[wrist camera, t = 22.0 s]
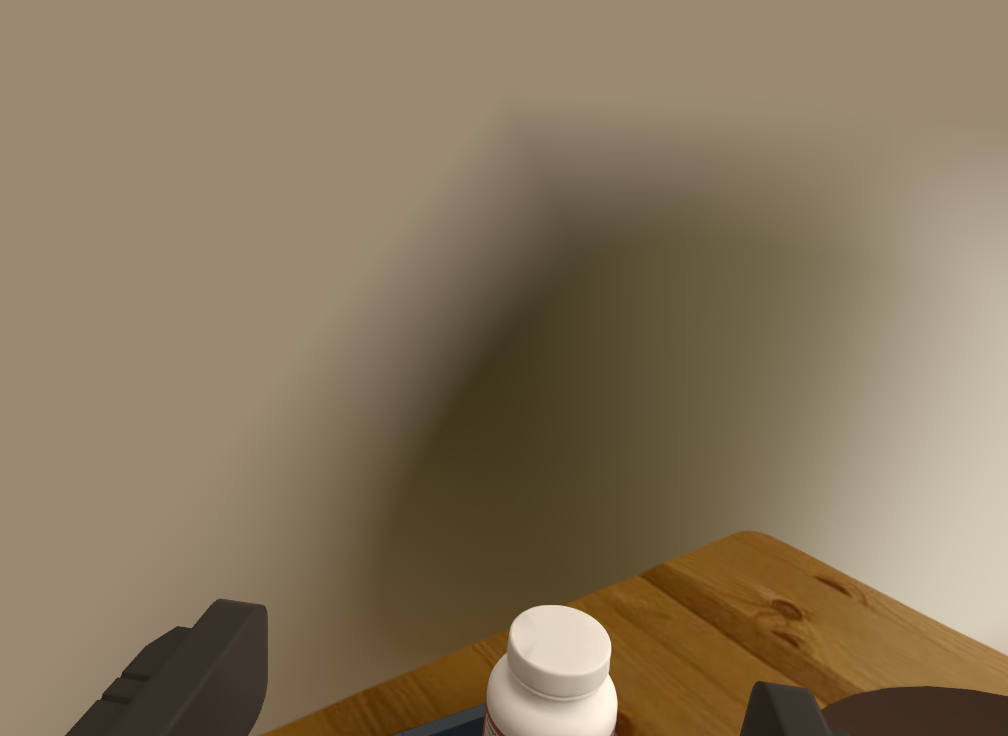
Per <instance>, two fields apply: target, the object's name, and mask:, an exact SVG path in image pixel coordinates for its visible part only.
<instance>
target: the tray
mask: <svg viewBox="0 0 1008 736" xmlns="http://www.w3.org/2000/svg"><path fill="white" fill-rule="evenodd" d="M485 705H486V703H485V704H482V705H480V706H477V707H474V708H471V709H468V710H465V711H462V712H459V713H456V714H453V715H450V716H447V717H445V718H442V719H439V720H436V721H433V722H430V723H427V724H424V725H421V726H418V727H415V728H413V729H410V730H407V731H404V732H402V733H398V734H395V735H392V736H482V735H483V725H484V715H485ZM613 736H617V734H616V733H615V732H614V735H613Z"/></svg>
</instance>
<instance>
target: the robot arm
mask: <svg viewBox="0 0 1008 736" xmlns="http://www.w3.org/2000/svg"><path fill="white" fill-rule="evenodd" d="M267 617H268V616H267V610H266V607H265V606H264V605H260V604H253V603H246V602H240V601H233V600H227V599H218V600H216V601H215V602H214V603H213V604H212V605H211V606H210V607H209V608H208V609H207V611H206V612H205V613H204V614H203V615H202V617H201V618H200V619H199V620H198V622H197V623H196V624H195V625H194V627H192V628H186V627H179V626H177V627H175V628H174V629H172V630H171V631H169V632H167V633H166V634H164V635H163V636H161V637H159V638H158V639H156V640H155V641H153V642H152V643H150V644H148V645H147V646H145V647H144V648H143V650H142V651H141V652H140V653H139V654H138V655H137V657H135V659H134V660H133V661H132V662H131V663H130V664H129V665H128V666H127V667H126V669H125V670H124V671H123V672H122V675H121V677H120V678H117V679H116V680H115V681H114V682H113V683H112V684H111V685H110V686H109V687H108V689H107V690H106V691H105V692H104V693H103V694H102V698H101V700H97V701H96V702H95V703H94V704H93V705H92V706H91V707H90V709H89V710H88V711H87V712H86V713H85V714H84V715H83V717H81V719H80V720H79V721H78V722H77V723H76V724H75V725H74V727H72V729H71V730H70V731H69V732H68V733H67V734H66V735H65V736H248V734H249V733H250V731H251V729H252V728H253V726H254V724H255V722H256V720H257V718H258V716H259V713H260V711H261V708H262V705H263V702H264V698H265V694H266V689H267V680H268V636H267V635H268V621H267V620H268V619H267ZM740 736H850V735H849V734H848V733H847V732H846V731H845V730H839V729H832V728H829V727H828V725H827V723H826V721H825V719H824V716H823V714H822V712H821V710H820V708H819V706H818V704H817V702H816V700H815V698H814V696H813V694H812V693H811V692H810V691H809V690H808V689H806V688H801V687H795V686H788V685H781V684H775V683H768V682H761V681H758V682H756V683H755V685H754V686H753V689H752V692H751V695H750V699H749V703H748V707H747V711H746V714H745V718H744V722H743V726H742V729H741V733H740Z"/></svg>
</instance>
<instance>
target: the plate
mask: <svg viewBox="0 0 1008 736" xmlns="http://www.w3.org/2000/svg"><path fill="white" fill-rule="evenodd" d="M821 712H822V714H823V716H824V719H825V721H826V723H827V725H828V727H829V728H832V729H839V730H845V731H846V732H847V733H848V734H849V735H850V736H1008V696H1003V695H997V694H992V693H987V692H981V691H976V690H968V689H955V688H943V687H931V686H924V687H899V688H886V689H881V690H876V691H871V692H866V693H861V694H856V695H853V696H851V697H849V698H846V699H844V700H841V701H839V702H836V703H834V704H831V705H829V706H828V707H826V708H825V709H824V710H822V711H821Z"/></svg>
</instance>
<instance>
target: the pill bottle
mask: <svg viewBox="0 0 1008 736" xmlns="http://www.w3.org/2000/svg"><path fill="white" fill-rule="evenodd" d="M610 655H611V642H610V639H609V636H608V634H607V632H606V630H605V629H604V628H603V627H602V625H601V624H600V623H599V622H598V621H596V620H595V619H594V618H592V617H591V616H589V615H587V614H586V613H584V612H581V611H579V610H576V609H573V608H570V607H565V606H557V605H545V606H538V607H534V608H531V609H528V610H527V611H524V612H523V613H521V614H520V615H519V616H518V617H517V618H516V619H515V620H514V622H513V623H512V625H511V628H510V633H509V639H508V647H507V653H506V654H505V655H504V656H503V657H502V658H501V659H500V660H499V661H498V663H497V664H496V665H495V667H494V669H493V670H492V673H491V675H490V678H489V682H488V688H487V695H486V705H485V715H484V725H483V735H482V736H613V735H614V730H615V724H616V715H617V695H616V691H615V688H614V685H613V682H612V680H611V678H610V676H609V674H608V672H609V663H610Z"/></svg>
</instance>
